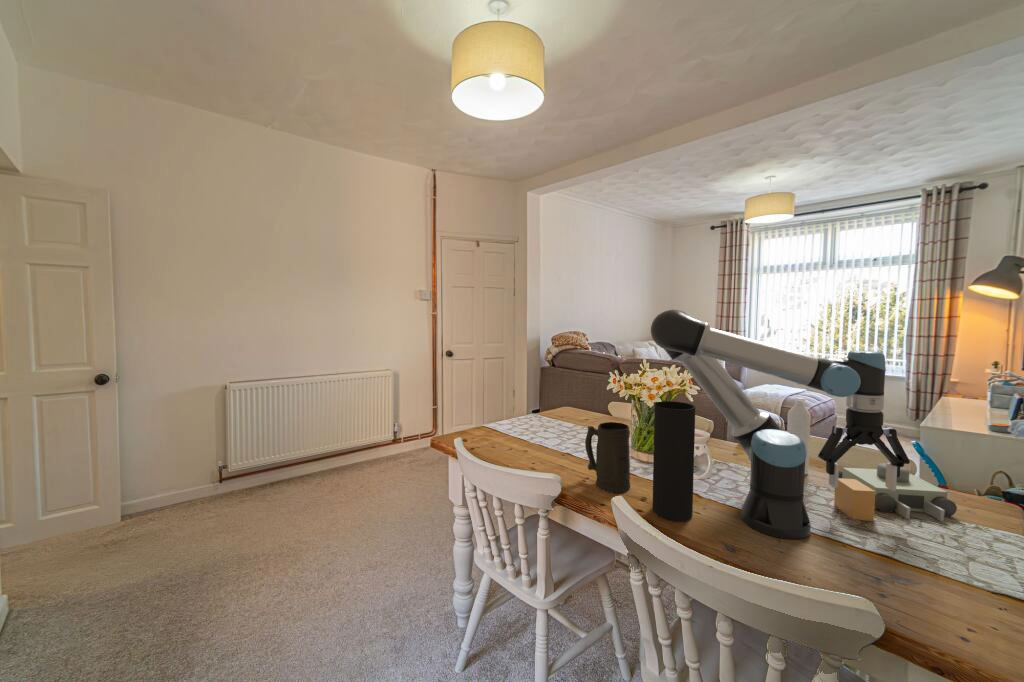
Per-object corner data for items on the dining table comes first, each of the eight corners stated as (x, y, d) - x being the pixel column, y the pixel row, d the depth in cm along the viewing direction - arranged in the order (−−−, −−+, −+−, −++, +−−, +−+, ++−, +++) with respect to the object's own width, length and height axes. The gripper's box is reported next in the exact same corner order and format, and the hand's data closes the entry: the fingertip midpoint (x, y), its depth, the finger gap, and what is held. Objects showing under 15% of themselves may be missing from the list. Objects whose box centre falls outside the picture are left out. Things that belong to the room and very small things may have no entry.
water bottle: (807, 476, 136) (810, 403, 135) (784, 472, 140) (787, 400, 139) (809, 469, 143) (812, 398, 141) (787, 464, 147) (790, 396, 145)
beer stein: (637, 484, 131) (633, 422, 131) (627, 496, 122) (623, 430, 122) (591, 477, 140) (588, 419, 139) (579, 488, 131) (575, 426, 130)
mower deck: (884, 517, 110) (886, 484, 109) (834, 483, 131) (836, 455, 131) (966, 522, 107) (968, 489, 106) (901, 487, 128) (902, 459, 128)
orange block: (852, 519, 109) (853, 490, 108) (834, 505, 117) (835, 478, 116) (873, 520, 108) (875, 491, 107) (853, 506, 116) (855, 479, 115)
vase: (656, 500, 120) (658, 399, 118) (694, 509, 115) (697, 403, 112) (649, 516, 111) (651, 407, 109) (689, 525, 106) (692, 411, 104)
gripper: (820, 411, 107) (817, 490, 108) (931, 413, 102) (927, 496, 104) (804, 405, 114) (802, 479, 115) (907, 406, 110) (904, 483, 111)
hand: (861, 487), depth 110 cm, fingers open, 13 cm apart
